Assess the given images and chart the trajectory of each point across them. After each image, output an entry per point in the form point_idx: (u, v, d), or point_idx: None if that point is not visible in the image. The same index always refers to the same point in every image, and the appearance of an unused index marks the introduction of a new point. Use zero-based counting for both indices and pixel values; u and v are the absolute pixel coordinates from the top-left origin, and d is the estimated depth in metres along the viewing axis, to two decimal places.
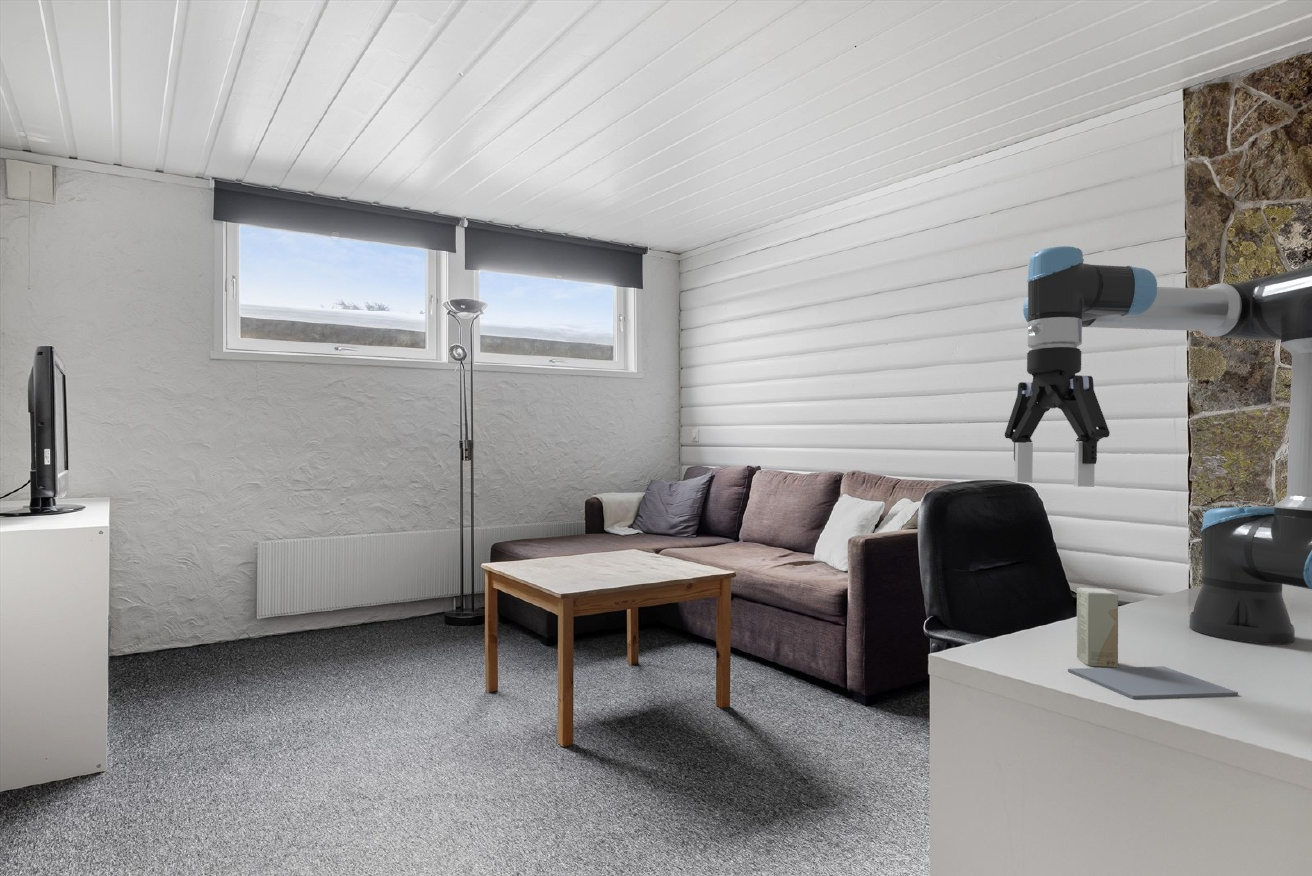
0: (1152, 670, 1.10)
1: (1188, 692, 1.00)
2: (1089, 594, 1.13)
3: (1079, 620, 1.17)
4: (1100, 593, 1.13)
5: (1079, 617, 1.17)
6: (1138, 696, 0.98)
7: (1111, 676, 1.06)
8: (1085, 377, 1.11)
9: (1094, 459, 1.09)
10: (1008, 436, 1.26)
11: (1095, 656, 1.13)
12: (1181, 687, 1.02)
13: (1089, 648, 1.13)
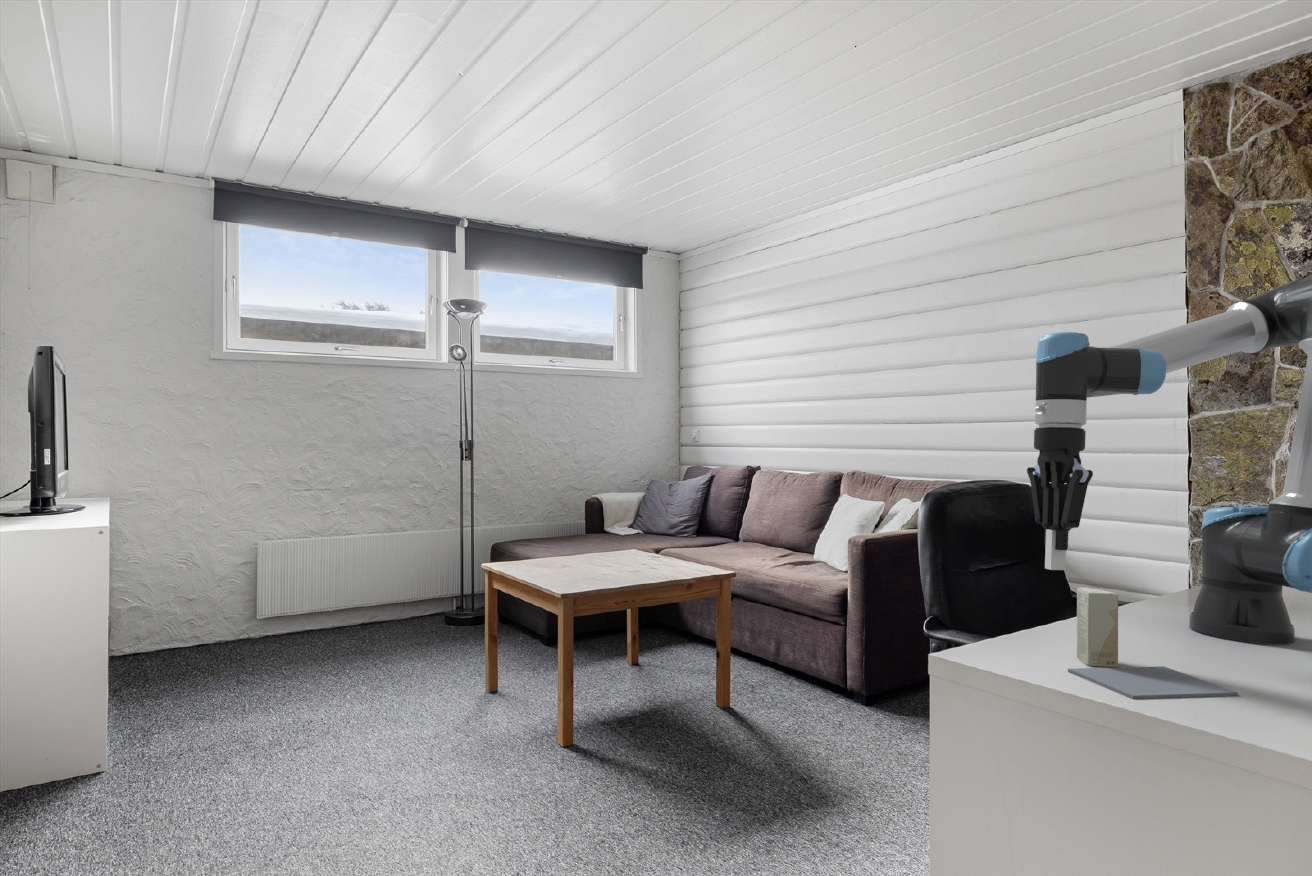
0: (1152, 670, 1.10)
1: (1188, 692, 1.00)
2: (1089, 594, 1.13)
3: (1079, 620, 1.17)
4: (1100, 593, 1.13)
5: (1079, 617, 1.17)
6: (1138, 696, 0.98)
7: (1111, 676, 1.06)
8: (1086, 474, 1.18)
9: (1065, 546, 1.22)
10: (1039, 520, 1.27)
11: (1095, 656, 1.13)
12: (1181, 687, 1.02)
13: (1089, 648, 1.13)
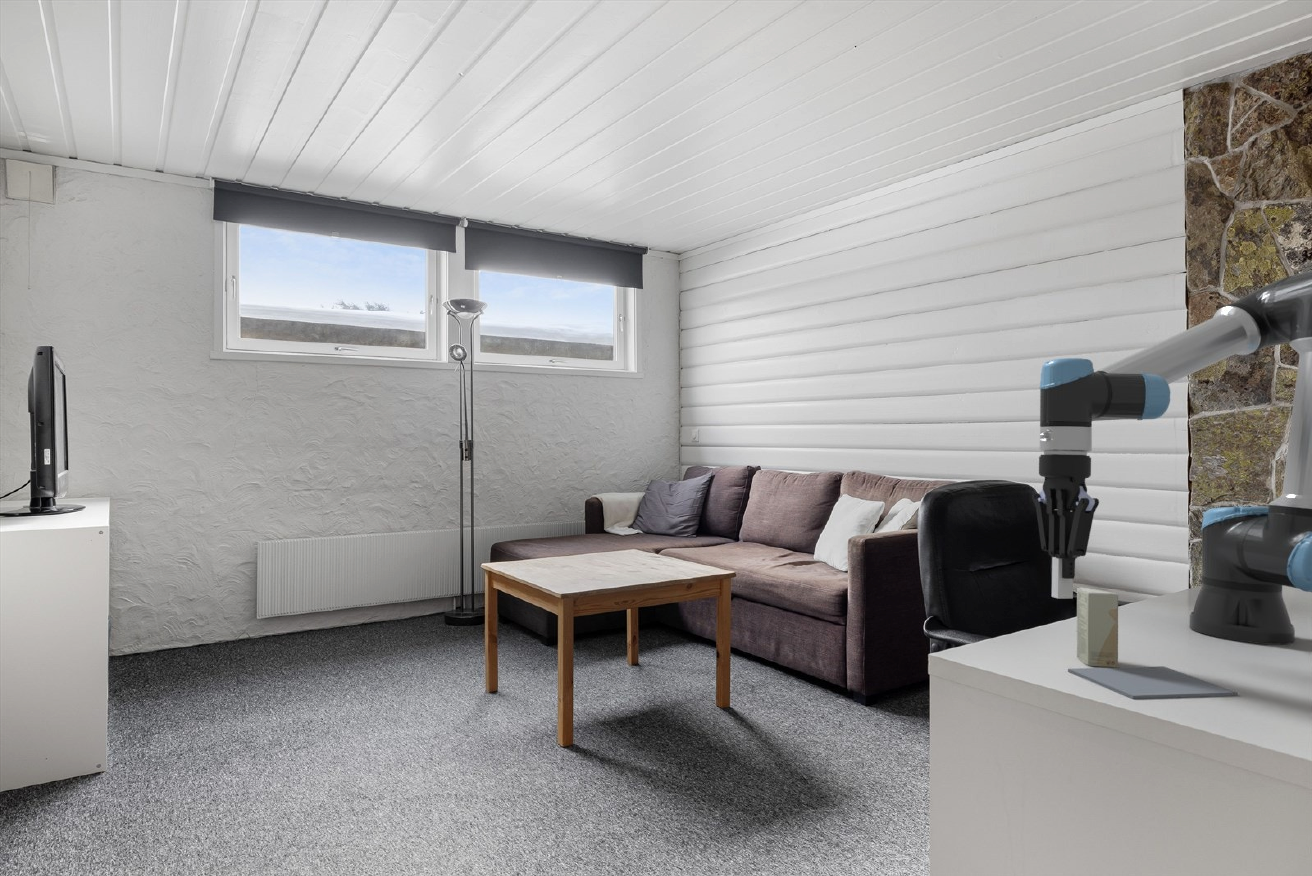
0: (1152, 670, 1.10)
1: (1188, 692, 1.00)
2: (1089, 594, 1.13)
3: (1079, 620, 1.17)
4: (1100, 593, 1.13)
5: (1079, 617, 1.17)
6: (1138, 696, 0.98)
7: (1111, 676, 1.06)
8: (1092, 503, 1.17)
9: (1072, 574, 1.21)
10: (1045, 547, 1.25)
11: (1095, 656, 1.13)
12: (1181, 687, 1.02)
13: (1089, 648, 1.13)
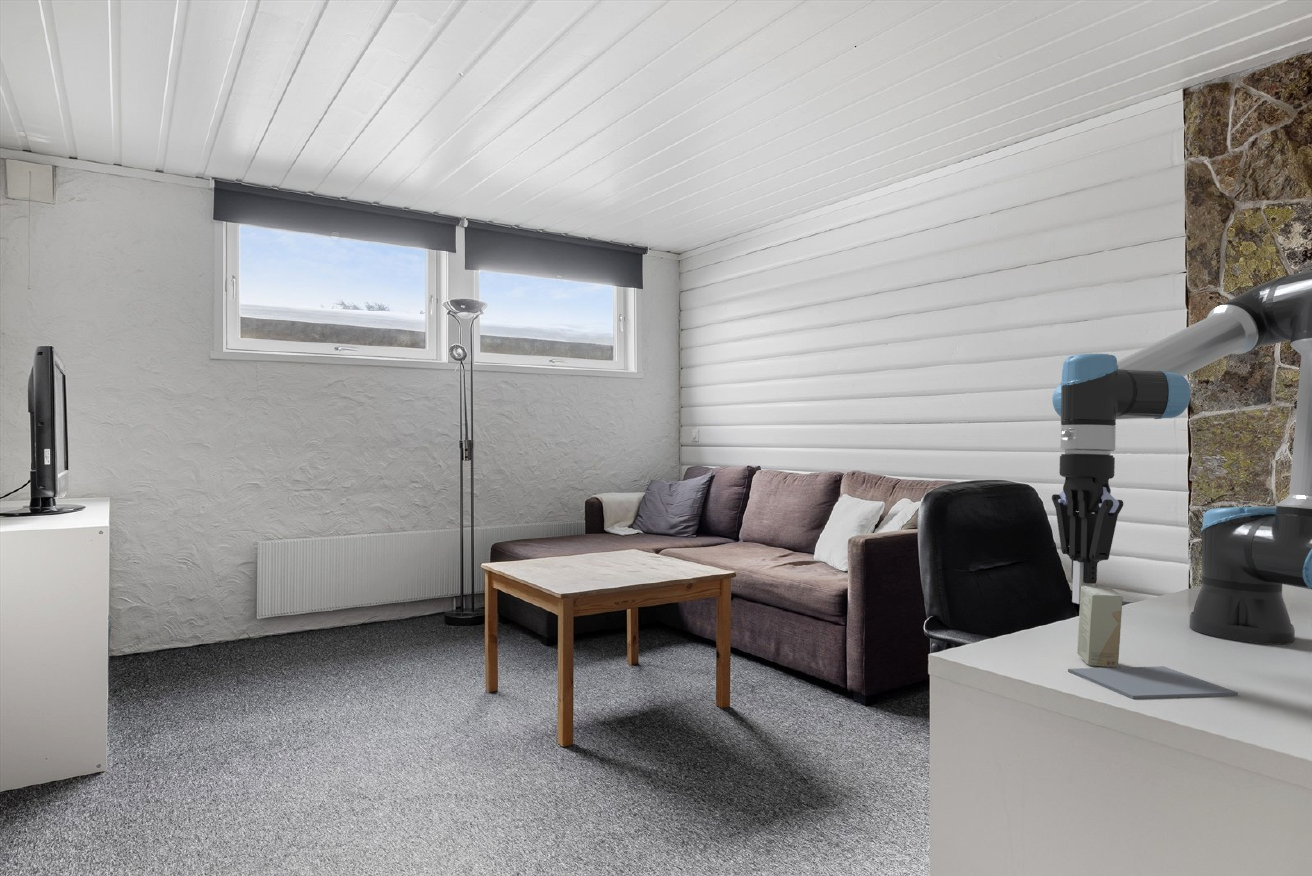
0: (1152, 670, 1.10)
1: (1188, 692, 1.00)
2: (1093, 596, 1.12)
3: (1081, 619, 1.16)
4: (1104, 595, 1.12)
5: (1081, 615, 1.16)
6: (1138, 696, 0.98)
7: (1111, 676, 1.06)
8: (1116, 504, 1.12)
9: (1094, 579, 1.16)
10: (1066, 550, 1.20)
11: (1096, 656, 1.13)
12: (1181, 687, 1.02)
13: (1090, 648, 1.13)
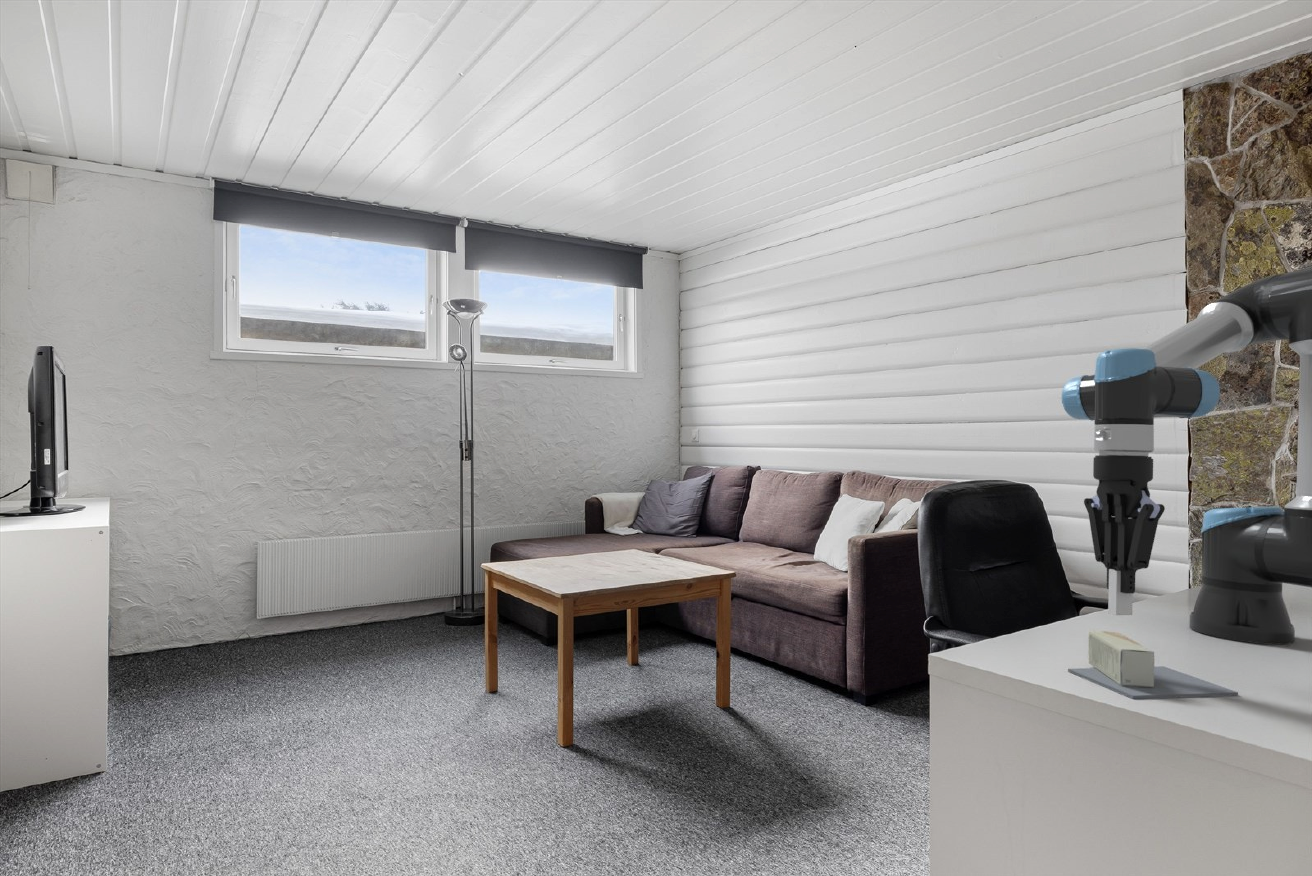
0: None
1: (1188, 692, 1.00)
2: None
3: (1105, 651, 1.07)
4: (1134, 684, 1.02)
5: (1106, 651, 1.06)
6: (1138, 696, 0.98)
7: None
8: (1157, 509, 1.05)
9: (1132, 589, 1.09)
10: (1100, 558, 1.13)
11: None
12: (1181, 687, 1.02)
13: (1096, 668, 1.10)
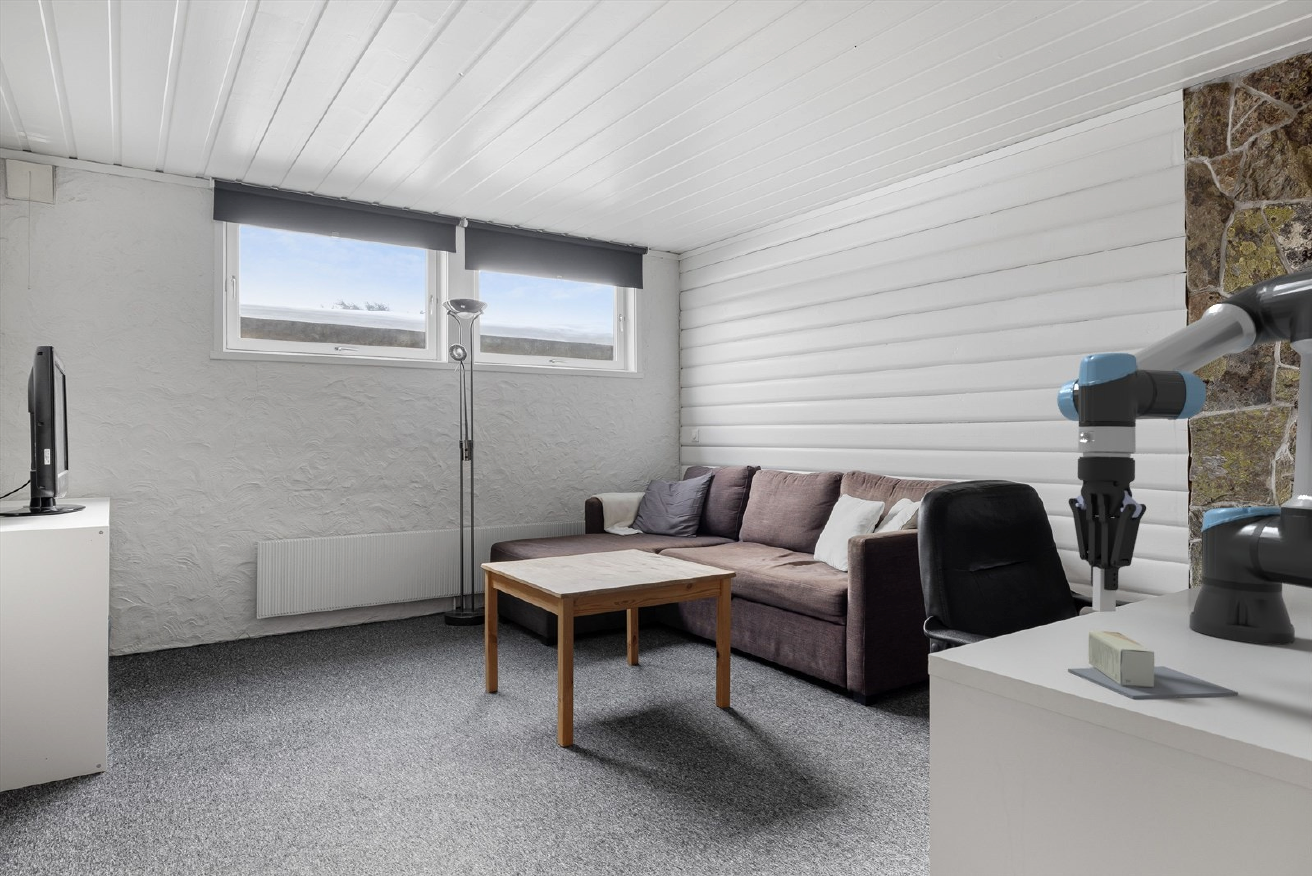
0: None
1: (1188, 692, 1.00)
2: None
3: (1105, 651, 1.07)
4: (1134, 684, 1.02)
5: (1106, 651, 1.06)
6: (1138, 696, 0.98)
7: None
8: (1139, 509, 1.08)
9: (1116, 586, 1.12)
10: (1085, 556, 1.17)
11: None
12: (1181, 687, 1.02)
13: (1096, 668, 1.10)
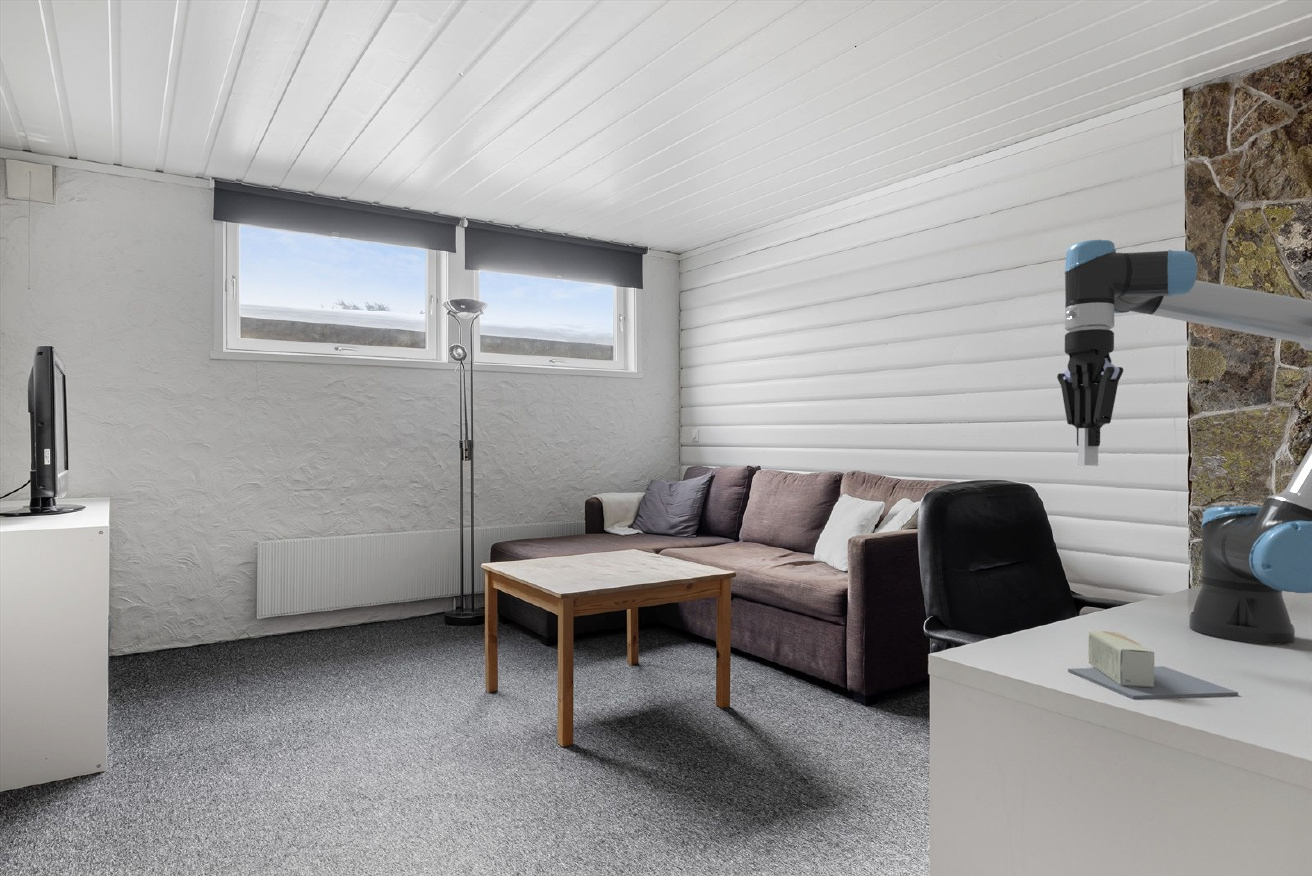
0: None
1: (1188, 692, 1.00)
2: None
3: (1105, 651, 1.07)
4: (1134, 684, 1.02)
5: (1106, 651, 1.06)
6: (1138, 696, 0.98)
7: None
8: (1117, 371, 1.25)
9: (1098, 442, 1.30)
10: (1071, 421, 1.34)
11: None
12: (1181, 687, 1.02)
13: (1096, 668, 1.10)
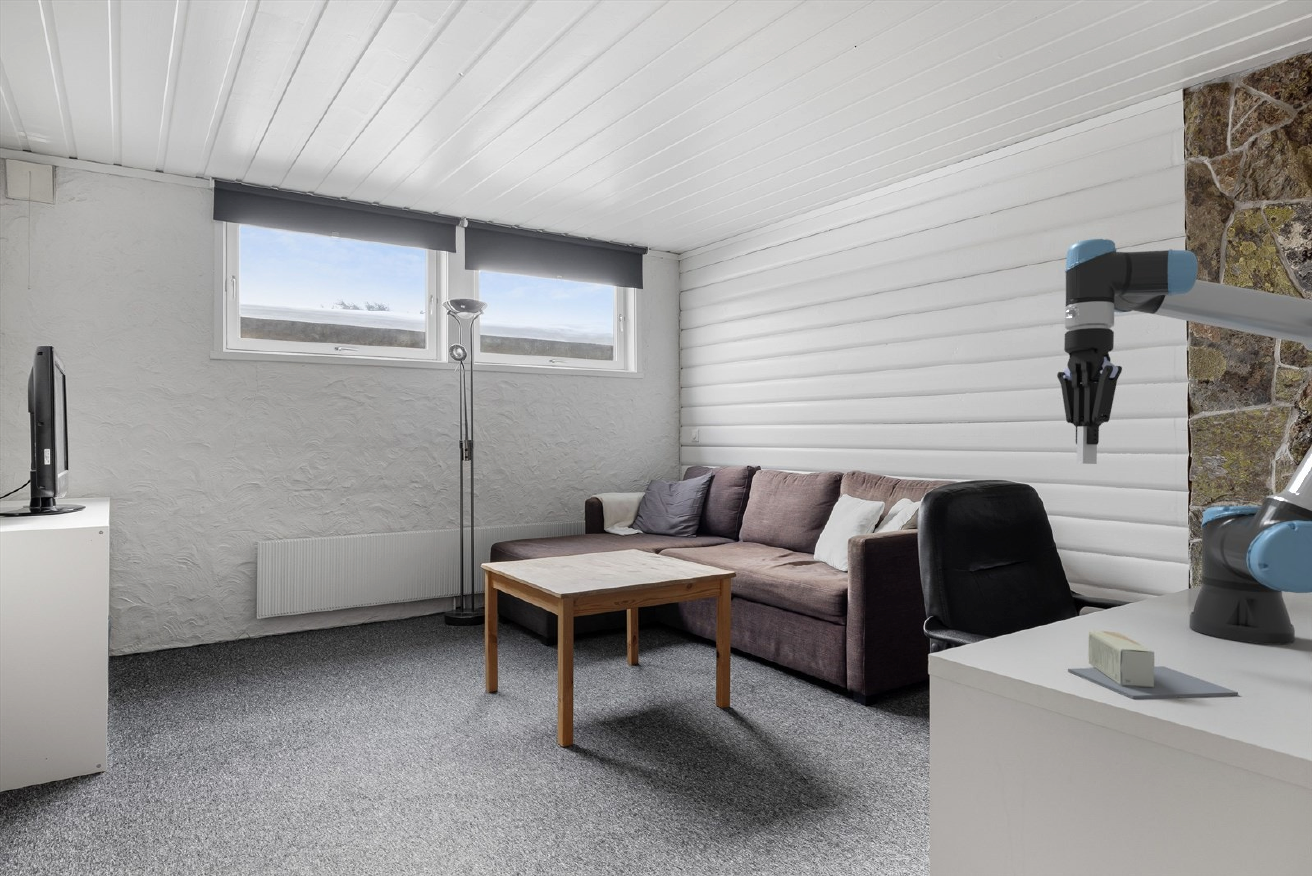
0: None
1: (1188, 692, 1.00)
2: None
3: (1105, 651, 1.07)
4: (1134, 684, 1.02)
5: (1106, 651, 1.06)
6: (1138, 696, 0.98)
7: None
8: (1115, 369, 1.26)
9: (1096, 440, 1.30)
10: (1070, 419, 1.34)
11: None
12: (1181, 687, 1.02)
13: (1096, 668, 1.10)
